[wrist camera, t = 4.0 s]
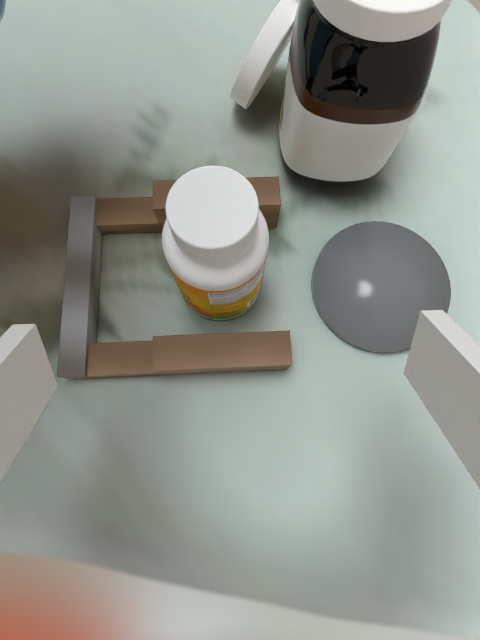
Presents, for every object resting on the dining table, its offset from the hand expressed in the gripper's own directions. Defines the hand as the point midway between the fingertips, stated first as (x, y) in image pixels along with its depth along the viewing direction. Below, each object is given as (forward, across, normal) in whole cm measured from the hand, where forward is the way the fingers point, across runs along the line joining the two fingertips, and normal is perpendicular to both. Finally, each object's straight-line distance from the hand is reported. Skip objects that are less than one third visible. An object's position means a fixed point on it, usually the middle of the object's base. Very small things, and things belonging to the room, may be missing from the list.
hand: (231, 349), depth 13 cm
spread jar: (+21, +6, +6) cm, 22 cm away
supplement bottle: (+12, -1, -3) cm, 13 cm away
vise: (+12, -3, -3) cm, 13 cm away
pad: (+12, +10, -4) cm, 16 cm away
